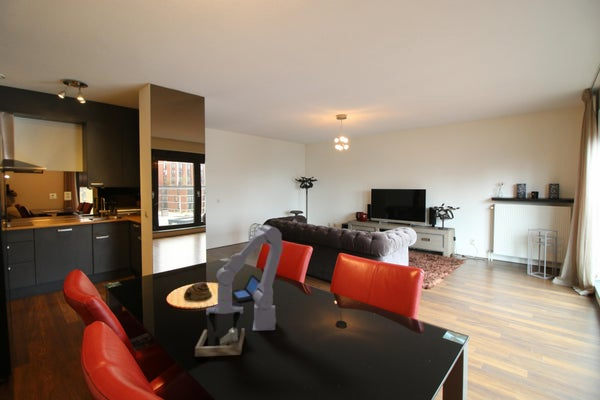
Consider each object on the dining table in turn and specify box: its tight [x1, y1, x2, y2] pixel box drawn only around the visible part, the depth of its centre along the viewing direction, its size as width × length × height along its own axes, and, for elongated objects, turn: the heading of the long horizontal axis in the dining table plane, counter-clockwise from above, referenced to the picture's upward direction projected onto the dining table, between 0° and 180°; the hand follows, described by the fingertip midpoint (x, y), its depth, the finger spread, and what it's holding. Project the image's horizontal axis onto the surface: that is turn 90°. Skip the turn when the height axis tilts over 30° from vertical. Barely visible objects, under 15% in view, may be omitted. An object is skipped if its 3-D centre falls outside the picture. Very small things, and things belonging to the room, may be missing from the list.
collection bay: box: [194, 327, 246, 358], centre depth 106 cm, size 16×13×3 cm
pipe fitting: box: [219, 327, 239, 346], centre depth 108 cm, size 8×4×7 cm
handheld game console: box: [232, 274, 261, 304], centre depth 154 cm, size 16×13×9 cm
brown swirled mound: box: [183, 281, 213, 302], centre depth 153 cm, size 13×15×8 cm
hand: (224, 330), depth 113 cm, fingers open, 7 cm apart
